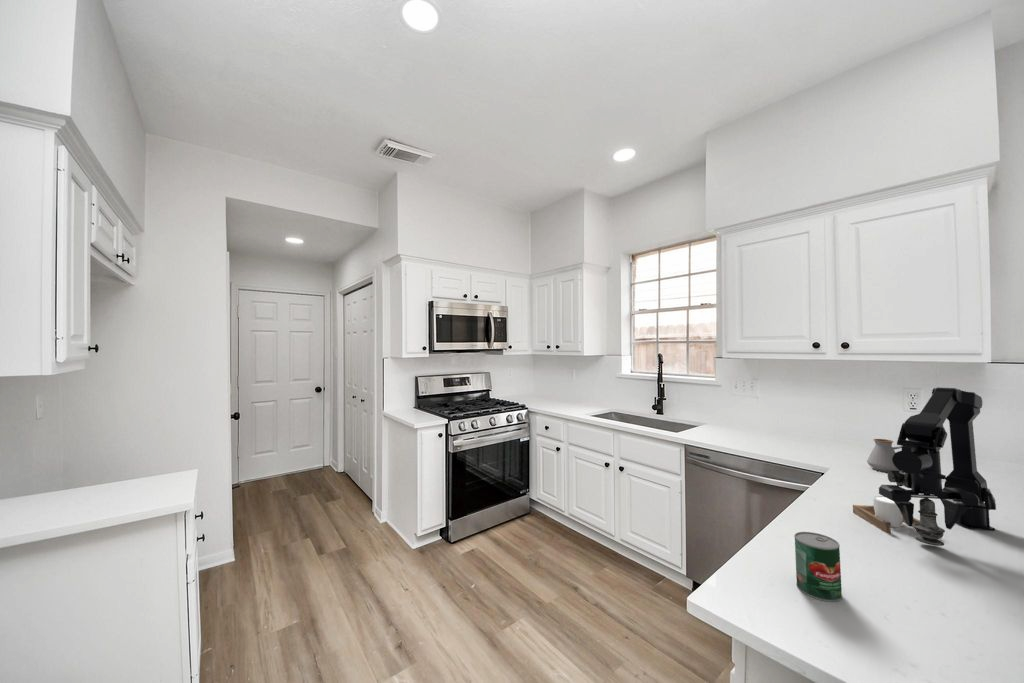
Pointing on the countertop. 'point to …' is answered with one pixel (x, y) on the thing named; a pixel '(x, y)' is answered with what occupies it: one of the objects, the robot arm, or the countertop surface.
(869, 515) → the wooden stand
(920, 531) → the salt shaker
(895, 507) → the white tapered cup
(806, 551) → the canned tomato
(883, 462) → the coffee pot
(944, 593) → the countertop surface
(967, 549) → the countertop surface
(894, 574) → the countertop surface
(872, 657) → the countertop surface
